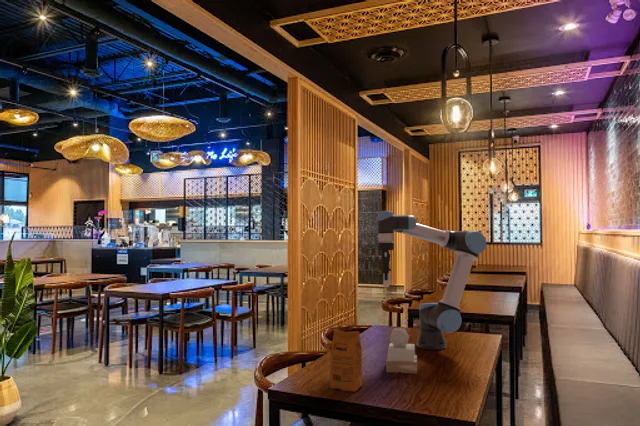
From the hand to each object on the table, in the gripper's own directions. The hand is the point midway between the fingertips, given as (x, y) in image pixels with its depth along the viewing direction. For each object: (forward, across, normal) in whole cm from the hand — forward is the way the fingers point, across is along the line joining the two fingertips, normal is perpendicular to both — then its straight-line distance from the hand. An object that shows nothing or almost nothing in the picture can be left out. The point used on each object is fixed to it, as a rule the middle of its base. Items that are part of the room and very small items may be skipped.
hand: (386, 285), depth 219 cm
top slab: (+30, +16, +6) cm, 35 cm away
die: (+25, +17, +6) cm, 31 cm away
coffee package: (+35, +46, -15) cm, 60 cm away
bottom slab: (+35, +17, +6) cm, 40 cm away
